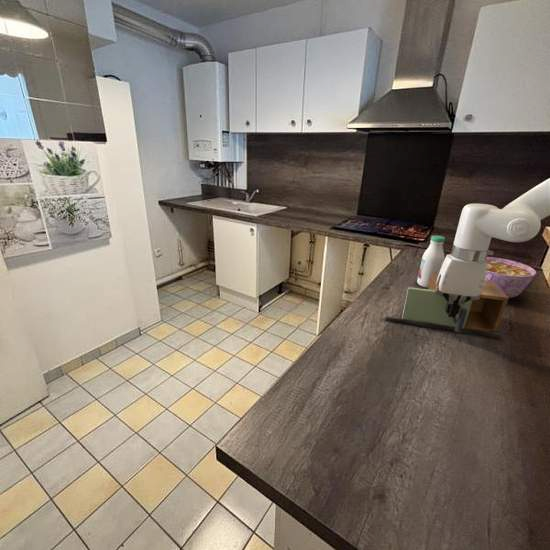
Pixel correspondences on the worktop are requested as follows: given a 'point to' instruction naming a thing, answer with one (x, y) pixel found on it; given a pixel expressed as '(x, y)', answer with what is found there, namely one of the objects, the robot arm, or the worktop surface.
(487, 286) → the cupboard
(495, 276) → the bowl of food
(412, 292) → the sliding door
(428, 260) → the milk bottle
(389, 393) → the worktop surface
